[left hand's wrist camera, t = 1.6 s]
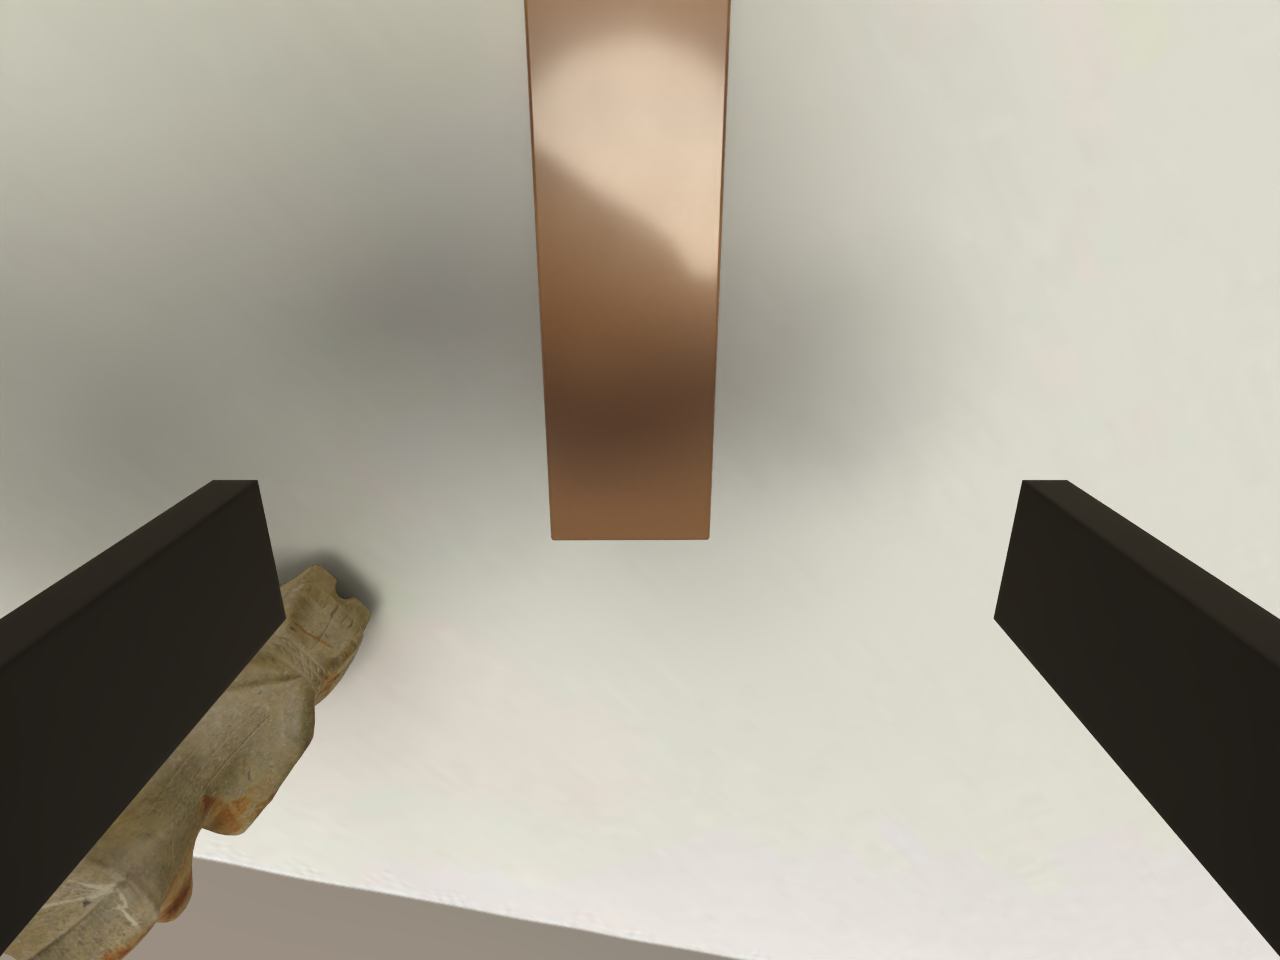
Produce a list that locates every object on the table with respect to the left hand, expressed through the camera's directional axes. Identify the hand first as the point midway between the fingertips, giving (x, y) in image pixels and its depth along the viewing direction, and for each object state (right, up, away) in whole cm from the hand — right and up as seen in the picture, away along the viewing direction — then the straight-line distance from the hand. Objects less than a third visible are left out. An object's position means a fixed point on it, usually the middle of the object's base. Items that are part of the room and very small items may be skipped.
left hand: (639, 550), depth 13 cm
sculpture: (-15, -5, +20) cm, 26 cm away
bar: (0, +13, +13) cm, 19 cm away
